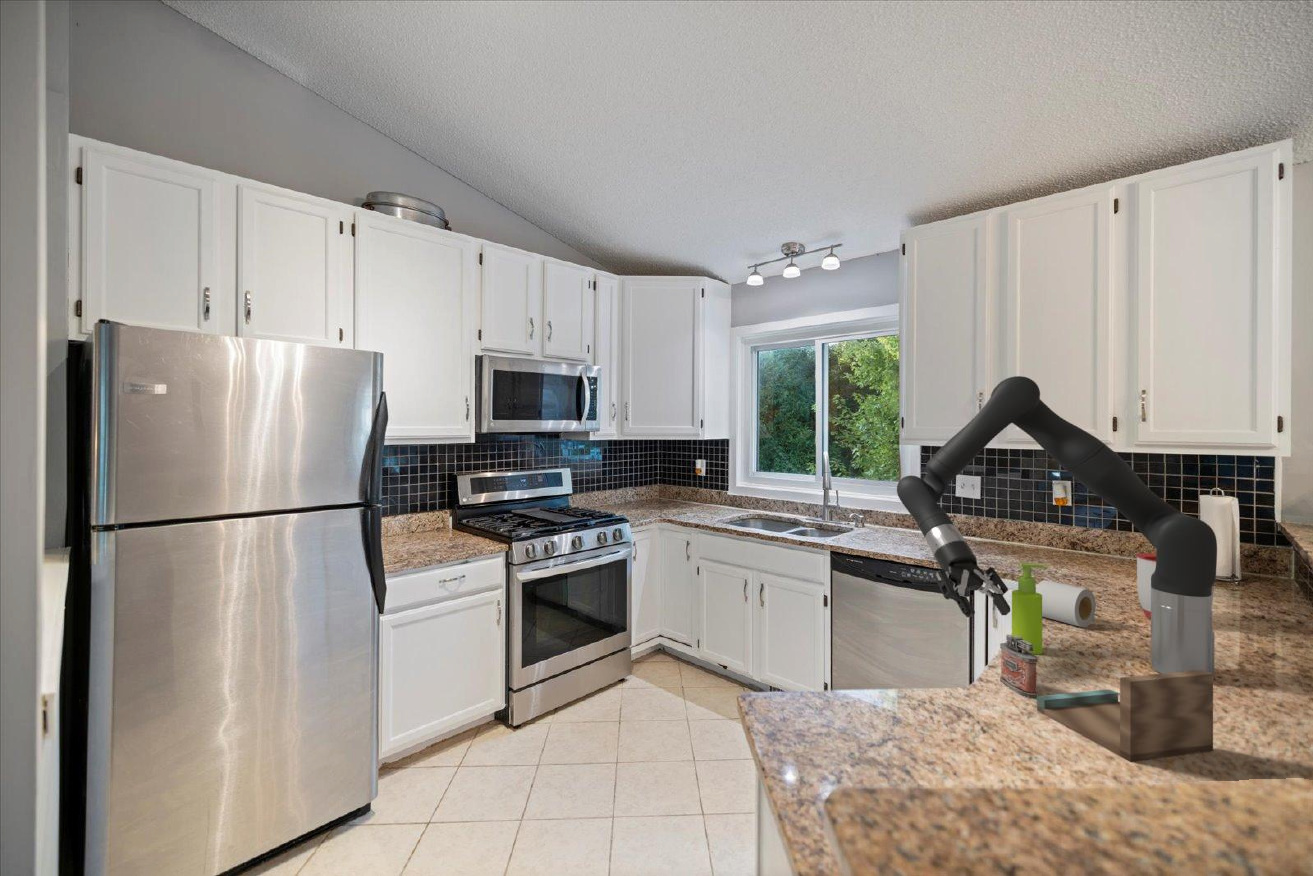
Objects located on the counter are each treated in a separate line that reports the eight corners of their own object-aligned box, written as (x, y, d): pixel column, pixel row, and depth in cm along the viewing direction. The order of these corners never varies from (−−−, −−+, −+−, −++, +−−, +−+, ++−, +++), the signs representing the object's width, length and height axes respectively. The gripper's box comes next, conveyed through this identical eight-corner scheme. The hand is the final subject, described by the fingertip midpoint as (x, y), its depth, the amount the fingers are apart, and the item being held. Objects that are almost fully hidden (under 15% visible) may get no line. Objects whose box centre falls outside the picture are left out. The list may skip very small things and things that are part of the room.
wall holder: (1109, 702, 101) (1109, 637, 101) (1213, 750, 86) (1213, 673, 86) (1036, 710, 98) (1037, 643, 98) (1130, 761, 82) (1130, 681, 82)
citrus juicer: (1153, 628, 143) (1153, 551, 143) (1125, 609, 159) (1125, 540, 159) (1232, 636, 137) (1232, 556, 137) (1195, 616, 153) (1195, 544, 154)
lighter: (995, 680, 111) (995, 630, 111) (1011, 679, 111) (1011, 630, 111) (1025, 699, 103) (1025, 645, 103) (1042, 698, 103) (1042, 645, 103)
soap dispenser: (1052, 656, 124) (1052, 567, 124) (1018, 653, 125) (1018, 565, 125) (1039, 646, 129) (1039, 561, 129) (1007, 644, 131) (1007, 560, 131)
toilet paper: (1095, 624, 146) (1095, 587, 146) (1074, 630, 141) (1074, 591, 141) (1054, 614, 155) (1054, 578, 155) (1033, 618, 150) (1033, 582, 150)
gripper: (930, 540, 121) (969, 607, 110) (985, 538, 124) (1029, 604, 113) (914, 559, 126) (950, 625, 115) (968, 557, 129) (1008, 621, 118)
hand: (989, 614), depth 114 cm, fingers open, 8 cm apart
